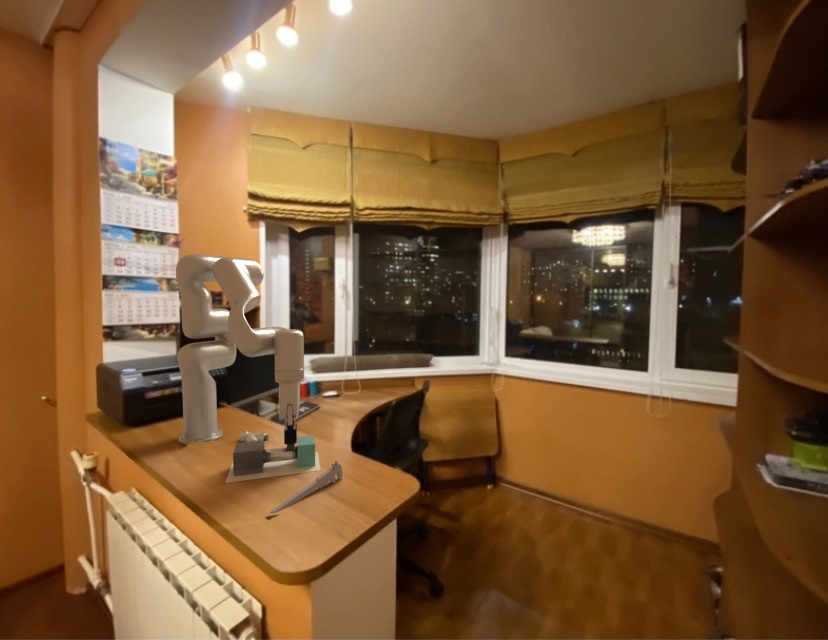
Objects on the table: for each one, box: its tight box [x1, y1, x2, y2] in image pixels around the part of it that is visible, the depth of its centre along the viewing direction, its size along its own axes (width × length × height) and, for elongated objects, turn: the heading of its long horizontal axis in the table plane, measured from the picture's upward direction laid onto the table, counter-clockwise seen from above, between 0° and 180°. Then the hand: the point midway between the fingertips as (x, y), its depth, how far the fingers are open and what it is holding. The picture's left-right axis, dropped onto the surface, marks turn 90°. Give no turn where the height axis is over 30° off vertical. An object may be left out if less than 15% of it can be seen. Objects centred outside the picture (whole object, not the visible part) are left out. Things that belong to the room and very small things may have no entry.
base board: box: [225, 451, 321, 483], centre depth 101 cm, size 12×23×1 cm, turn 108°
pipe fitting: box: [239, 431, 270, 443], centre depth 117 cm, size 8×4×7 cm
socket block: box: [296, 434, 316, 468], centre depth 104 cm, size 6×5×6 cm
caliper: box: [265, 460, 343, 521], centre depth 87 cm, size 20×1×6 cm, turn 142°
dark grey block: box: [232, 440, 266, 476], centre depth 99 cm, size 6×7×6 cm
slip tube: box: [263, 443, 298, 463], centre depth 102 cm, size 3×14×9 cm, turn 108°
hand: (290, 440), depth 102 cm, fingers closed on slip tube, 3 cm apart
